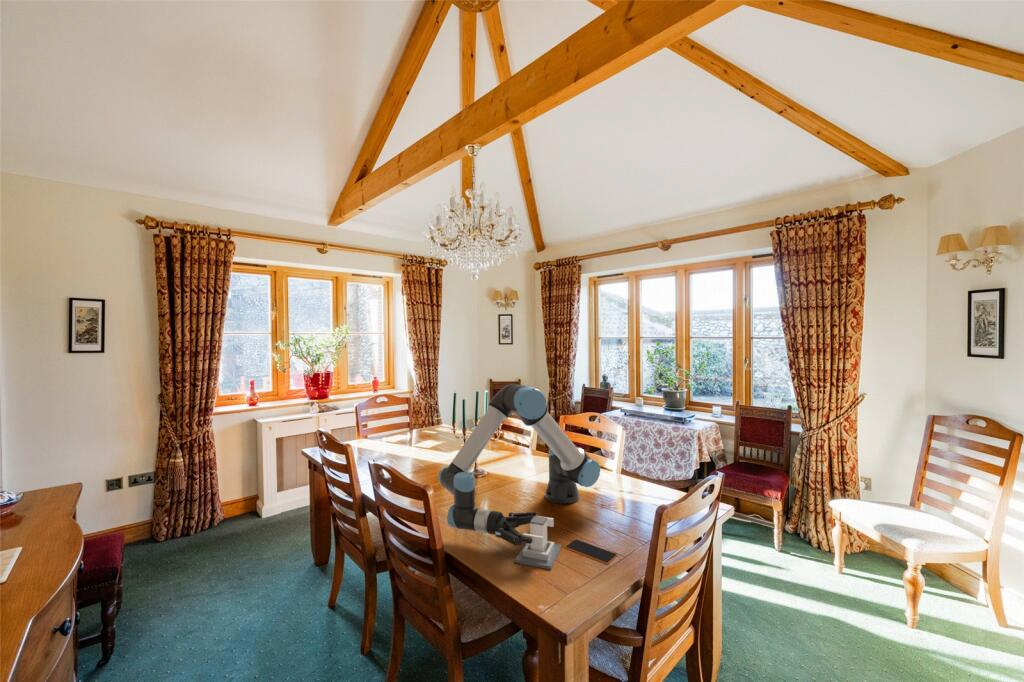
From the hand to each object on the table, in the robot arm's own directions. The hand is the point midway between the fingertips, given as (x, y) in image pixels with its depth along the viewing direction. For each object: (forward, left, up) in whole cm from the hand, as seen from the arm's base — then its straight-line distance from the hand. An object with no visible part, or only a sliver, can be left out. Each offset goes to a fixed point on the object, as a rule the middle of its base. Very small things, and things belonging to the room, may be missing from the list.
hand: (548, 531), depth 139 cm
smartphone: (-8, +13, -9) cm, 18 cm away
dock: (0, -3, -8) cm, 9 cm away
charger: (0, -3, -7) cm, 8 cm away
